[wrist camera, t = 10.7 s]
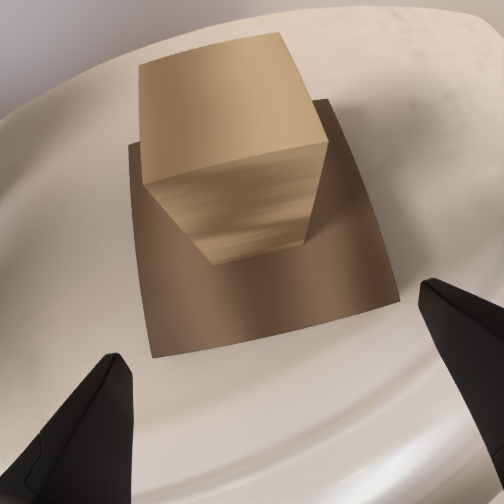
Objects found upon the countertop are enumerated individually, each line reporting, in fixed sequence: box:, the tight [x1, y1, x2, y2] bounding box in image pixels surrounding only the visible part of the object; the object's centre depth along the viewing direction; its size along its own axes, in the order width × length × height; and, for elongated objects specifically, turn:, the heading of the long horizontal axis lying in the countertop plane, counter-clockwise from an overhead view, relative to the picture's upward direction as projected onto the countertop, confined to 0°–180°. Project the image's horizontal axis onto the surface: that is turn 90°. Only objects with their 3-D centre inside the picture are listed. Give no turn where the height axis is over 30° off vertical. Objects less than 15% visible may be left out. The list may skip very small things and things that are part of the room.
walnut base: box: [128, 99, 400, 358], centre depth 20 cm, size 14×14×3 cm
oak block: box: [139, 32, 329, 265], centre depth 14 cm, size 5×5×10 cm
